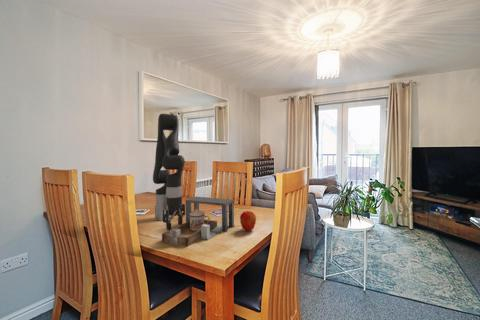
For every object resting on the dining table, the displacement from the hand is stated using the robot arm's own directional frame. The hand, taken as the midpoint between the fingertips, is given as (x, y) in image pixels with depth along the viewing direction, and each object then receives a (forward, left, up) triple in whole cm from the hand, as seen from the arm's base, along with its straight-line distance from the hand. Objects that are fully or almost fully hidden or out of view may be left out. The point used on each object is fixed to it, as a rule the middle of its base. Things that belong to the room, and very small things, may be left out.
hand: (174, 227), depth 117 cm
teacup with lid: (-1, +23, -8) cm, 25 cm away
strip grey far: (+11, +26, -8) cm, 29 cm away
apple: (+27, +31, -8) cm, 42 cm away
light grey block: (+11, +14, -8) cm, 19 cm away
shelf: (+3, +29, -8) cm, 31 cm away
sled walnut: (0, +14, -8) cm, 16 cm away
